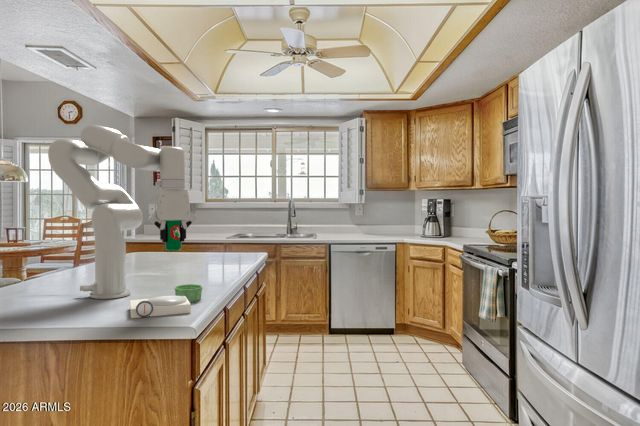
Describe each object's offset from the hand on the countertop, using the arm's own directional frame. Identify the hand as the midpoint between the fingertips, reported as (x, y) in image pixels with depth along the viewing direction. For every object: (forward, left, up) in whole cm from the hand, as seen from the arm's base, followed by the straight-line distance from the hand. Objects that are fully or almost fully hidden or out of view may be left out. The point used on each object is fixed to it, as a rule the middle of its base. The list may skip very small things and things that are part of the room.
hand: (173, 241), depth 135 cm
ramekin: (+5, +1, -20) cm, 21 cm away
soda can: (0, 0, -3) cm, 3 cm away
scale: (-5, -10, -20) cm, 23 cm away
